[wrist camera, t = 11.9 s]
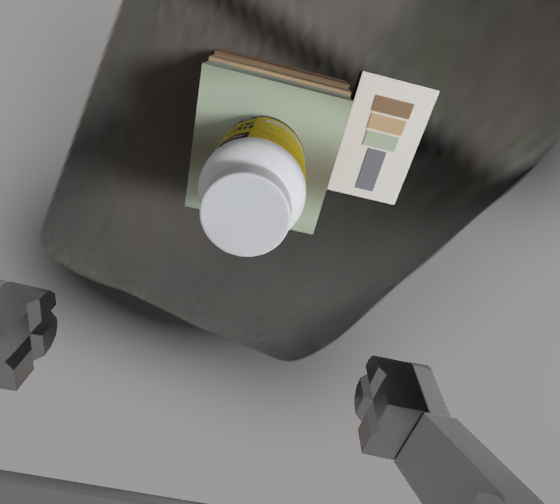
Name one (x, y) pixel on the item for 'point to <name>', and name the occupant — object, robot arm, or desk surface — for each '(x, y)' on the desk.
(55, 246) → the desk surface
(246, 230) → the supplement bottle
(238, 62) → the brick tower
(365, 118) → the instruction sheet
